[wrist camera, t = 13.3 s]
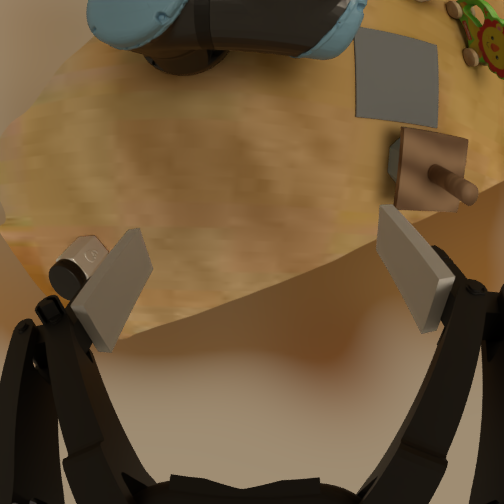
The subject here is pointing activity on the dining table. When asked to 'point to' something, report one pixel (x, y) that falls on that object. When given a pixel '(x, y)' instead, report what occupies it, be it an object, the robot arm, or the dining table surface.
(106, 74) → the dining table surface
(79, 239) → the jar
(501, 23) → the toy lion
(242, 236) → the dining table surface
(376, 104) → the mat
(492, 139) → the dining table surface
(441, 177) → the lid
